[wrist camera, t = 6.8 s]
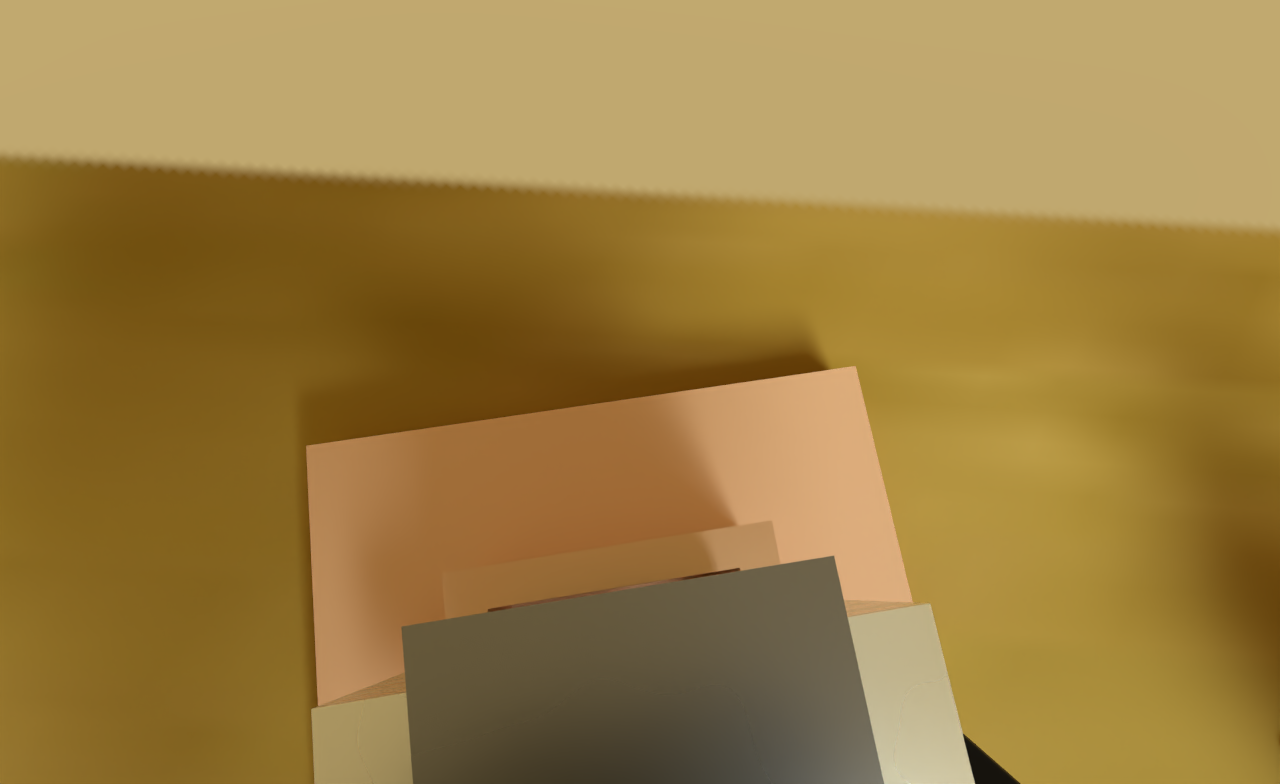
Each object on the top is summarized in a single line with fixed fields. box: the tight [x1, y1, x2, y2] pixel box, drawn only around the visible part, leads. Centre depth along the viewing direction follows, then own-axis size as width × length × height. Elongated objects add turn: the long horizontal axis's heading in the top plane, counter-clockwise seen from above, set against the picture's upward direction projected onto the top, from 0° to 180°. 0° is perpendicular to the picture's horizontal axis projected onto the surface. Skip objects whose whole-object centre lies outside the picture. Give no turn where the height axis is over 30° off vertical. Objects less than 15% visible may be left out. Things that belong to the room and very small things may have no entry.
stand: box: [306, 366, 913, 706], centre depth 16 cm, size 14×14×5 cm
